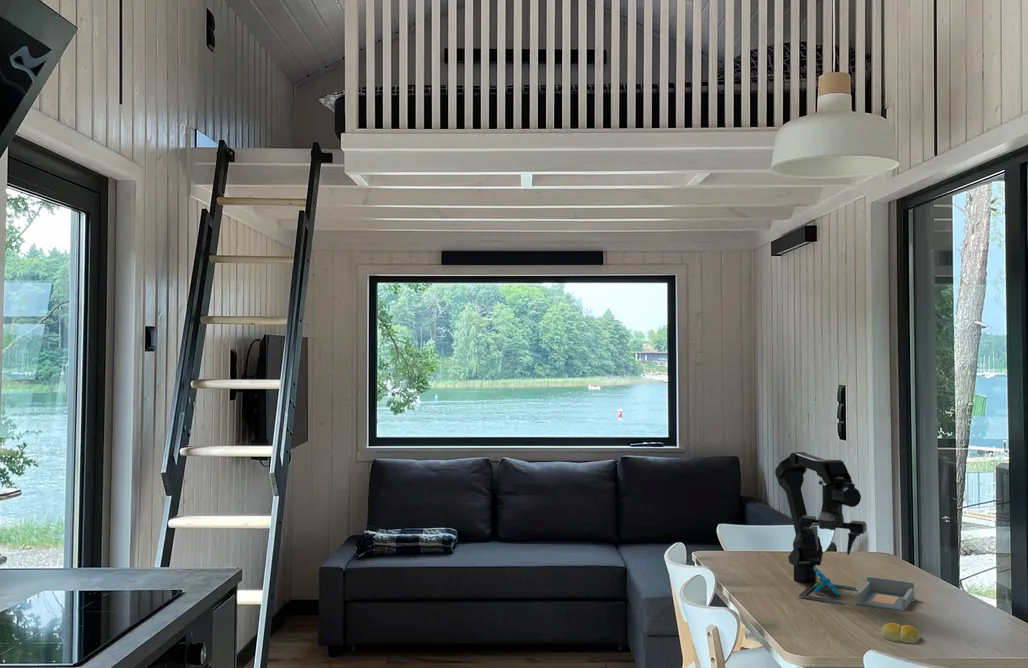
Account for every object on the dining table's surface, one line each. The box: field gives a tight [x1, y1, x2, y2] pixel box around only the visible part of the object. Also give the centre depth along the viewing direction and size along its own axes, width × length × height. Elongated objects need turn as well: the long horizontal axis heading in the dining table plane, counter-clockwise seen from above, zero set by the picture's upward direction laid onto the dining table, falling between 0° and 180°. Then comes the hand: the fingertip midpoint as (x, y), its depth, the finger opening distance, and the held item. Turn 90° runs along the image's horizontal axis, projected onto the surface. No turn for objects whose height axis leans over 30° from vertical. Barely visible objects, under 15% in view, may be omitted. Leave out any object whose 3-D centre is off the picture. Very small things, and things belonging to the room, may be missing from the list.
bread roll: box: [881, 622, 922, 644], centre depth 212 cm, size 8×9×4 cm
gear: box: [813, 567, 841, 596], centre depth 256 cm, size 11×6×10 cm
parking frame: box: [798, 581, 857, 605], centre depth 255 cm, size 12×19×1 cm, turn 147°
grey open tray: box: [855, 575, 915, 612], centre depth 247 cm, size 13×18×5 cm
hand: (832, 552), depth 255 cm, fingers open, 9 cm apart
